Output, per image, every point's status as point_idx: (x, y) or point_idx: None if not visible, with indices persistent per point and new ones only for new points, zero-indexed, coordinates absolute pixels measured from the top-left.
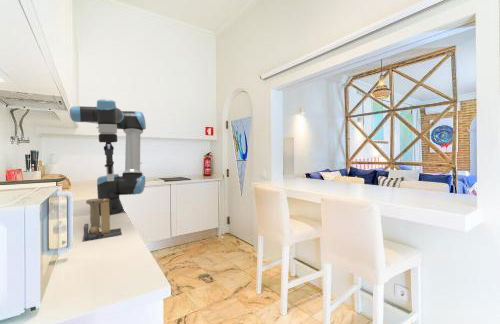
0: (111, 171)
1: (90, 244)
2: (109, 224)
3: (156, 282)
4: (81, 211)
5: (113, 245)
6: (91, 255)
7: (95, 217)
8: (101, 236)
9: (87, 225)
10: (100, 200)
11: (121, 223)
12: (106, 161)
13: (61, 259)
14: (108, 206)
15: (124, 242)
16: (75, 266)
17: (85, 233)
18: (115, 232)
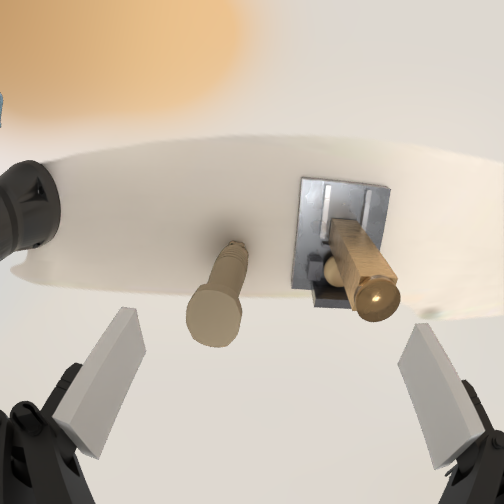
0: (475, 399)
1: None
2: (365, 234)
3: None
4: (14, 273)
5: (426, 218)
6: (447, 268)
7: (244, 275)
8: None
9: (341, 300)
10: (382, 317)
11: (189, 163)
12: (502, 491)
13: (421, 317)
14: (389, 269)
15: (424, 188)
16: (471, 293)
17: None
18: (366, 206)
